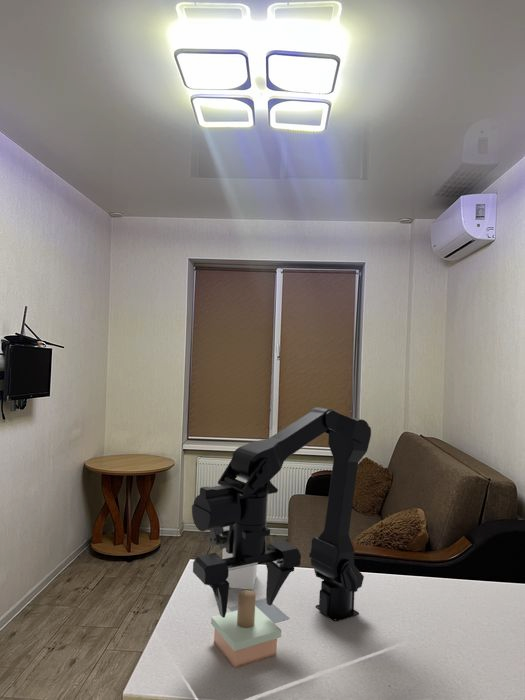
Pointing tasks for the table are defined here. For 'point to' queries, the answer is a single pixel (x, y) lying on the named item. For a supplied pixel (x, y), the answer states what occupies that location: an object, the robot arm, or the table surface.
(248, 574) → the milk carton
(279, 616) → the mat
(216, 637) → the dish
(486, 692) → the table surface
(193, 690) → the table surface
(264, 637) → the lid
